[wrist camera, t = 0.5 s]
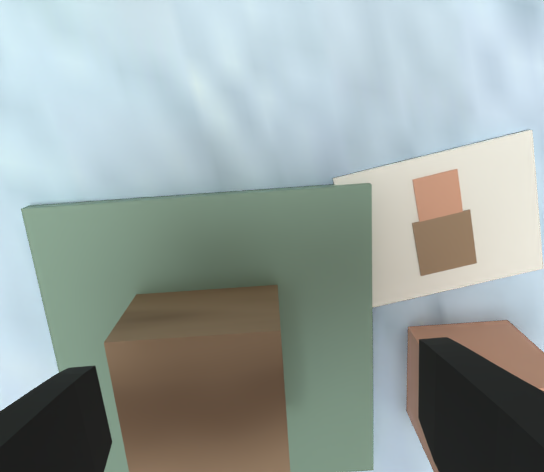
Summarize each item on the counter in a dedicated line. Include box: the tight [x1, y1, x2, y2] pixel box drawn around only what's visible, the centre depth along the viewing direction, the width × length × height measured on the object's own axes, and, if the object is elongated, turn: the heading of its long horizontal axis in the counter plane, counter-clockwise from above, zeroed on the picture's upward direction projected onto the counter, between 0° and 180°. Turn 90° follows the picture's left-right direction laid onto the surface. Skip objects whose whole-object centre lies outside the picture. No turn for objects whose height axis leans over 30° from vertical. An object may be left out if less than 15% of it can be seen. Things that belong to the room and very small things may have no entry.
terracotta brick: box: [406, 320, 544, 472], centre depth 19 cm, size 4×4×5 cm
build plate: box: [21, 183, 373, 472], centre depth 20 cm, size 14×14×1 cm
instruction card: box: [333, 130, 543, 308], centre depth 19 cm, size 6×8×1 cm
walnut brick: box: [104, 285, 290, 472], centre depth 18 cm, size 6×6×4 cm
